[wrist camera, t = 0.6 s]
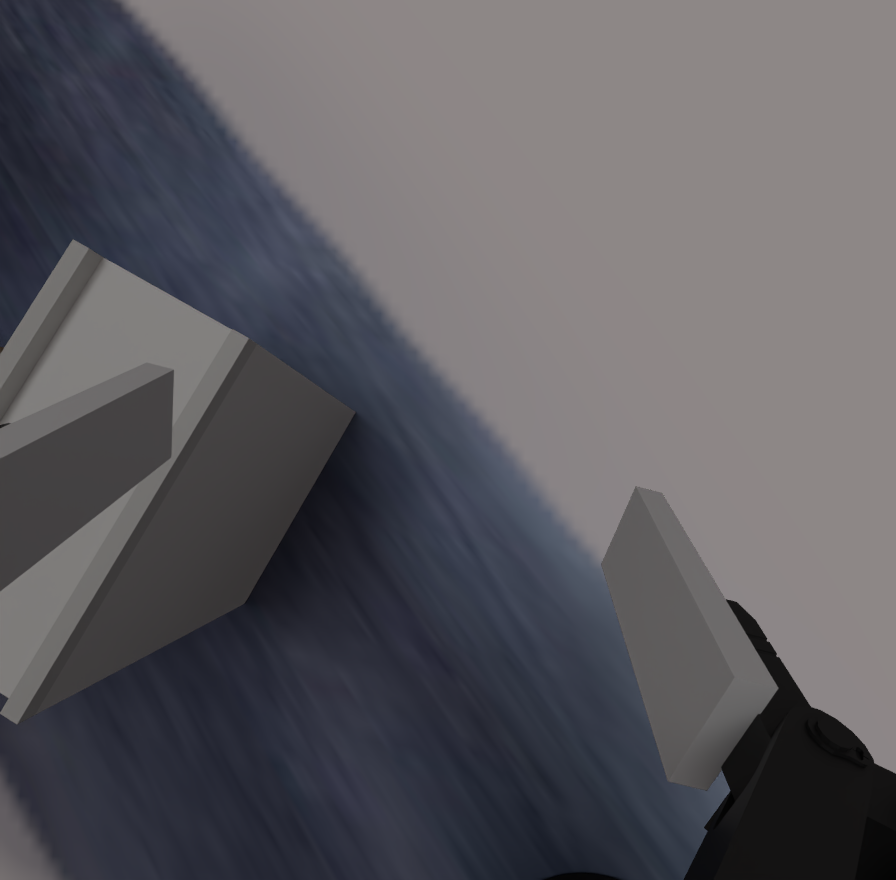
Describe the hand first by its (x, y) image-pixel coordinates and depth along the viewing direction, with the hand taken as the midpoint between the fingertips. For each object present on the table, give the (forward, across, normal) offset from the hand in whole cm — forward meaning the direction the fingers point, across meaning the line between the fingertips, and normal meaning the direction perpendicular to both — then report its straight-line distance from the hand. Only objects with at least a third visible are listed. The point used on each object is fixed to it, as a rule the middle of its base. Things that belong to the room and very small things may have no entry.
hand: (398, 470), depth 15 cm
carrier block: (+20, +11, +15) cm, 28 cm away
